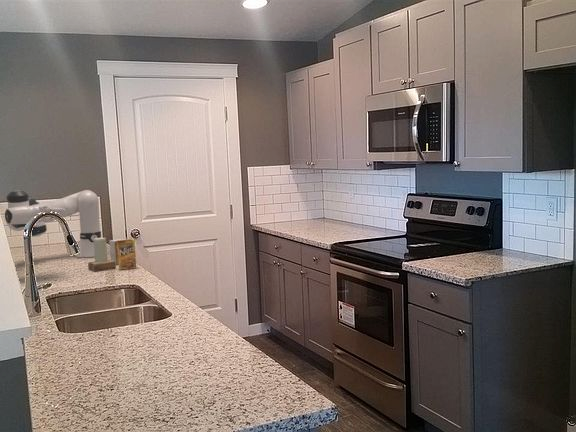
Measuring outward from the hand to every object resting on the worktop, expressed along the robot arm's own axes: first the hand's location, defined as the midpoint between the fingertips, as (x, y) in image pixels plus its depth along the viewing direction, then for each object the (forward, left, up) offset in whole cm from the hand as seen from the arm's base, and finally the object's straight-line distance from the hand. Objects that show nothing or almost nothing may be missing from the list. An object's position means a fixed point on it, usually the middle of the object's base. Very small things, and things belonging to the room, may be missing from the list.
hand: (70, 210), depth 299 cm
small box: (-6, +26, -32) cm, 42 cm away
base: (+2, +13, -32) cm, 35 cm away
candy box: (+12, +23, -32) cm, 41 cm away
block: (+2, +13, -28) cm, 31 cm away
